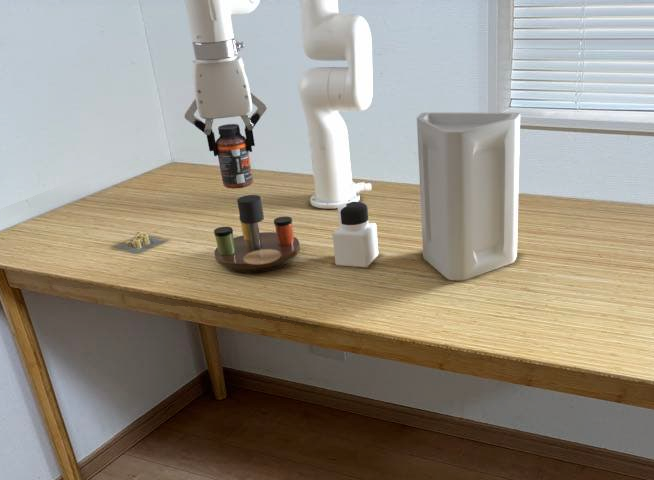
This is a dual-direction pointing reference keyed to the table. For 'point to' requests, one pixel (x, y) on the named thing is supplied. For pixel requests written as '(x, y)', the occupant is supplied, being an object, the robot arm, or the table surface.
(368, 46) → the robot arm
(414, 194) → the table surface
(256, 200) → the spice rack
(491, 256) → the white triangular tub
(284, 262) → the rack base
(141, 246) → the dice set
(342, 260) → the medicine bottle
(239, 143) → the supplement bottle
